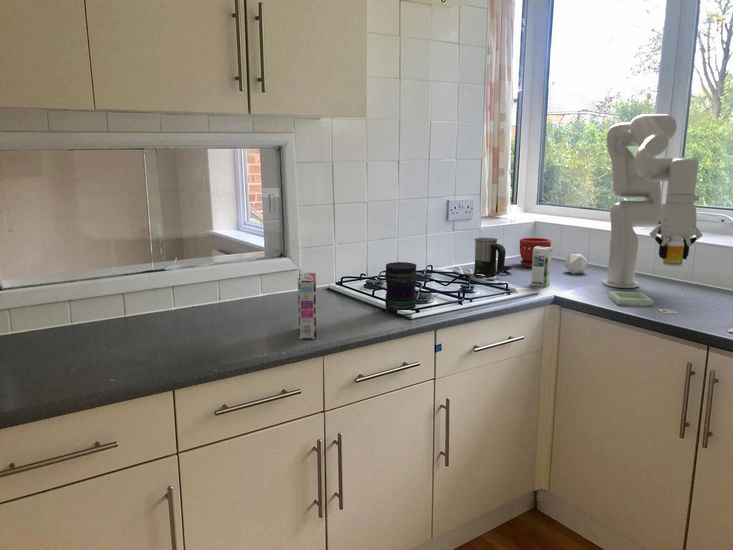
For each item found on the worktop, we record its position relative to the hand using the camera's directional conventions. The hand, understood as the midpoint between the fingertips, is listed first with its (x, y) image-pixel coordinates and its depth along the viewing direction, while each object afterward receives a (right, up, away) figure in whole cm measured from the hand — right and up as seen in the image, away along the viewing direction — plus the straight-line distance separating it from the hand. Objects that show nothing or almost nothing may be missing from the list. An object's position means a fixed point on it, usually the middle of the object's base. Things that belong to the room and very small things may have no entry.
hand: (672, 257), depth 178 cm
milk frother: (-43, -5, +58) cm, 73 cm away
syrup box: (-29, -9, +39) cm, 50 cm away
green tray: (-6, -14, +15) cm, 22 cm away
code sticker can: (0, -17, +4) cm, 17 cm away
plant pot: (-22, -2, +74) cm, 77 cm away
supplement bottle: (0, -3, +1) cm, 3 cm away
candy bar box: (-112, -22, -17) cm, 115 cm away
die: (-8, -5, +60) cm, 61 cm away
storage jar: (-85, -17, +5) cm, 86 cm away
